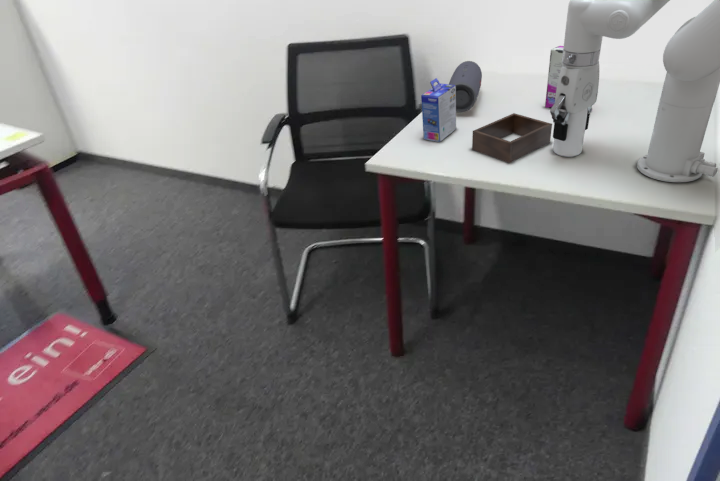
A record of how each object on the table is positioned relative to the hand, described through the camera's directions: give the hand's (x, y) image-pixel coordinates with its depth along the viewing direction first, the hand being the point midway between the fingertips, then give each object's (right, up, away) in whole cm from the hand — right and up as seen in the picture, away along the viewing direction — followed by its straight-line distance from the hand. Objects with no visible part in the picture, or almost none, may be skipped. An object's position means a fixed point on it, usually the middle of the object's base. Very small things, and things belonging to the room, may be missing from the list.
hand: (570, 133), depth 126 cm
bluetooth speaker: (-18, +16, +36) cm, 44 cm away
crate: (-12, -2, +8) cm, 14 cm away
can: (0, -4, +3) cm, 5 cm away
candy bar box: (+9, +12, +26) cm, 30 cm away
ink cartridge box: (-28, +3, +18) cm, 34 cm away
